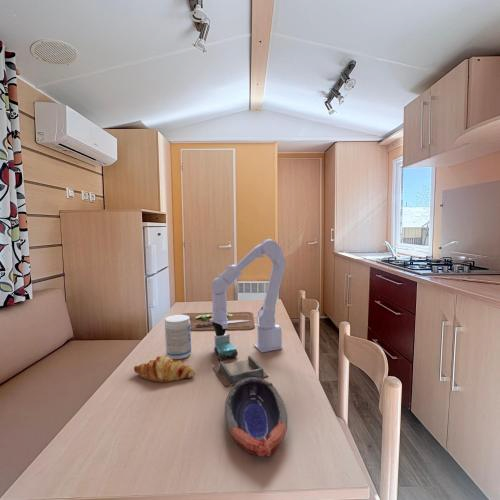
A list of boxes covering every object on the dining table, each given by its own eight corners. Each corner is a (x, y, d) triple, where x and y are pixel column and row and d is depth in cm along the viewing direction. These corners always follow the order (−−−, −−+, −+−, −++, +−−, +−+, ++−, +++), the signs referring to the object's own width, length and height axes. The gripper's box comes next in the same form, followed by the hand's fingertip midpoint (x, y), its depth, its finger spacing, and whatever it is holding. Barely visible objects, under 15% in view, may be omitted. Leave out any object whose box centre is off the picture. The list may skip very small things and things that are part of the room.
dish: (277, 389, 94) (277, 373, 93) (296, 469, 63) (296, 446, 63) (227, 390, 93) (226, 374, 93) (221, 472, 63) (221, 449, 62)
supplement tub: (195, 356, 117) (194, 318, 116) (171, 362, 112) (169, 323, 110) (185, 347, 125) (184, 312, 124) (162, 353, 120) (161, 316, 118)
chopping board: (257, 314, 172) (257, 308, 172) (260, 330, 145) (260, 324, 145) (177, 315, 171) (177, 310, 171) (165, 332, 144) (165, 326, 144)
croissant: (198, 383, 104) (200, 358, 107) (190, 383, 95) (193, 356, 98) (138, 380, 106) (142, 355, 109) (125, 380, 97) (130, 353, 100)
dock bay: (251, 359, 114) (251, 351, 113) (268, 376, 101) (268, 368, 101) (212, 367, 108) (212, 359, 107) (225, 386, 95) (225, 377, 95)
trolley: (230, 349, 123) (230, 333, 123) (238, 358, 115) (238, 341, 114) (213, 352, 120) (212, 336, 120) (220, 361, 112) (219, 344, 111)
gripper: (205, 304, 127) (205, 336, 129) (215, 313, 114) (215, 348, 115) (221, 302, 130) (221, 333, 131) (232, 311, 117) (233, 345, 118)
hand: (220, 340), depth 123 cm, fingers closed
